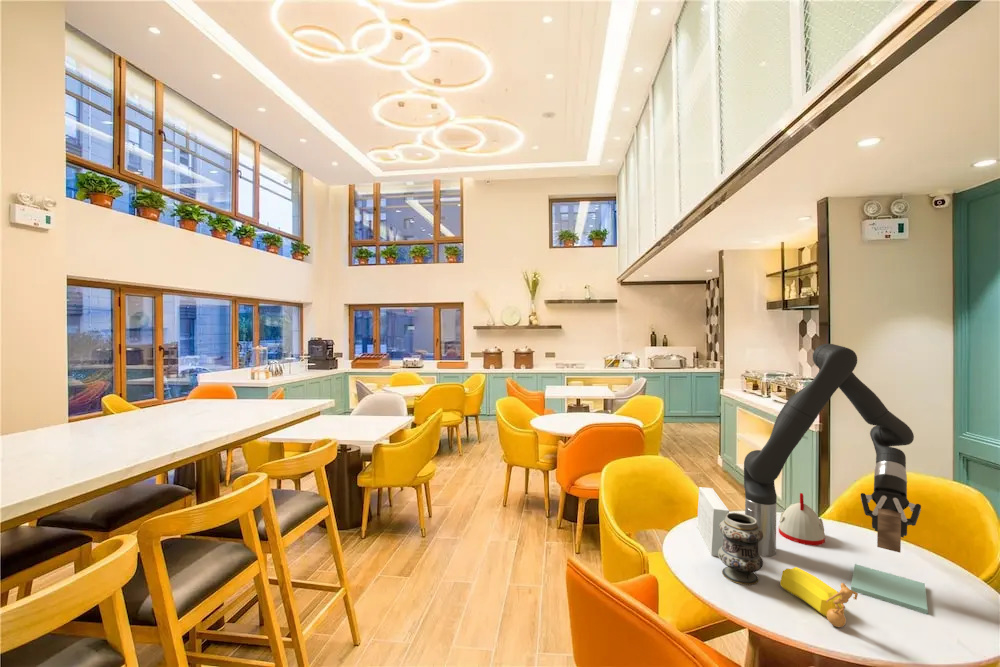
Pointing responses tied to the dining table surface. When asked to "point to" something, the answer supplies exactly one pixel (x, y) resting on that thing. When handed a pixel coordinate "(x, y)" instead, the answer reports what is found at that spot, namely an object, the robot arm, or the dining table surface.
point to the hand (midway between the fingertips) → (889, 532)
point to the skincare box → (711, 519)
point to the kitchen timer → (801, 524)
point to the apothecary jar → (740, 548)
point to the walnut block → (889, 530)
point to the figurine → (836, 614)
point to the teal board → (890, 588)
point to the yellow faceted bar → (809, 589)
